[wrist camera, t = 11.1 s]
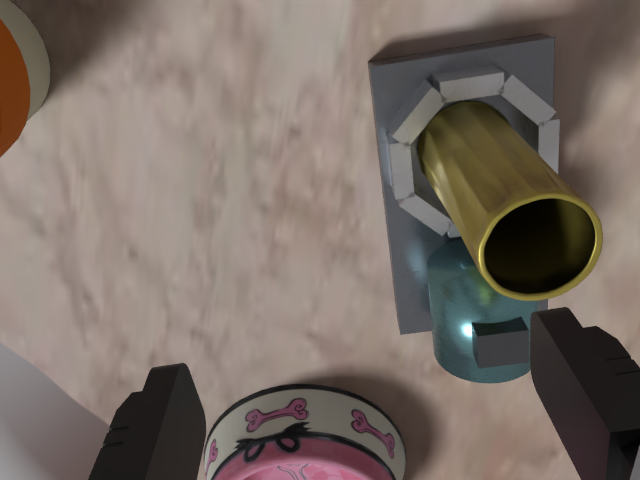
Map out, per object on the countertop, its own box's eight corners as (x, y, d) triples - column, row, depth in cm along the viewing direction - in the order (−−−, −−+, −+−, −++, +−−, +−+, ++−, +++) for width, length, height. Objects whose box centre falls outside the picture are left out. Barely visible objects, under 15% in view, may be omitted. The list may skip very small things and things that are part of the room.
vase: (398, 141, 36) (439, 240, 24) (480, 80, 35) (572, 151, 22) (450, 209, 38) (514, 334, 26) (530, 154, 37) (641, 259, 24)
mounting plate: (367, 61, 36) (382, 96, 27) (543, 33, 35) (619, 59, 26) (397, 319, 45) (416, 410, 36) (538, 301, 44) (594, 390, 35)
